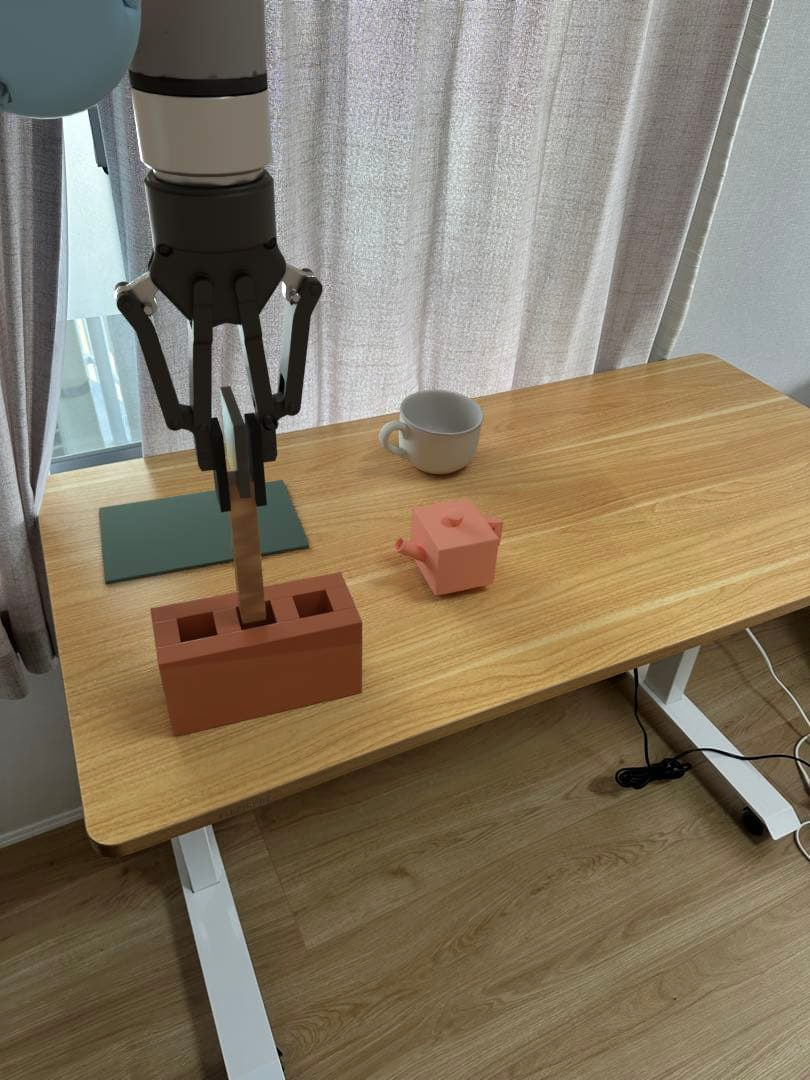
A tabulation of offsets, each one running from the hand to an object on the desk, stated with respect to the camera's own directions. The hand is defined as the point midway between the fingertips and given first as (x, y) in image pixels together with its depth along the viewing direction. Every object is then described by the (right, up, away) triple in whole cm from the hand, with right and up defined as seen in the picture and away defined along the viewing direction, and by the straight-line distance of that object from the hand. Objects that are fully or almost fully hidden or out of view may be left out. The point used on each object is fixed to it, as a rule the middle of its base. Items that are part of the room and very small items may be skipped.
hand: (241, 498), depth 62 cm
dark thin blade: (0, -10, +7) cm, 12 cm away
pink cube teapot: (+17, -7, +27) cm, 32 cm away
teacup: (+15, +7, +45) cm, 48 cm away
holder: (-1, -17, +13) cm, 21 cm away
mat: (-11, -2, +32) cm, 34 cm away
